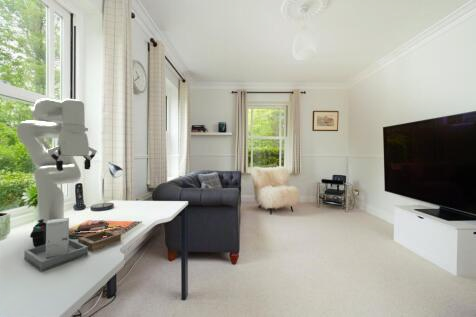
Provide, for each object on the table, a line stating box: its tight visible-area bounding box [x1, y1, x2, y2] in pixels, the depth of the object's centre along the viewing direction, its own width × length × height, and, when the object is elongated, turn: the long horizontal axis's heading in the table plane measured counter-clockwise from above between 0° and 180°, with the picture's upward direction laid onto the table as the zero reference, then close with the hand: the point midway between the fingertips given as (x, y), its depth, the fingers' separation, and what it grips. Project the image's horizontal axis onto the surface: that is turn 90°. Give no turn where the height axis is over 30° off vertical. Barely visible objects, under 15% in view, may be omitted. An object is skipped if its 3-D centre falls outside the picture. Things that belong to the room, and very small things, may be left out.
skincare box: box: [46, 217, 70, 258], centre depth 76 cm, size 6×4×12 cm
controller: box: [29, 219, 46, 248], centre depth 84 cm, size 4×12×10 cm, turn 36°
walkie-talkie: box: [73, 219, 122, 233], centre depth 104 cm, size 9×4×20 cm
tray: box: [23, 237, 89, 272], centre depth 76 cm, size 16×13×3 cm
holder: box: [77, 229, 122, 253], centre depth 87 cm, size 11×11×3 cm
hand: (74, 169), depth 90 cm, fingers open, 9 cm apart
